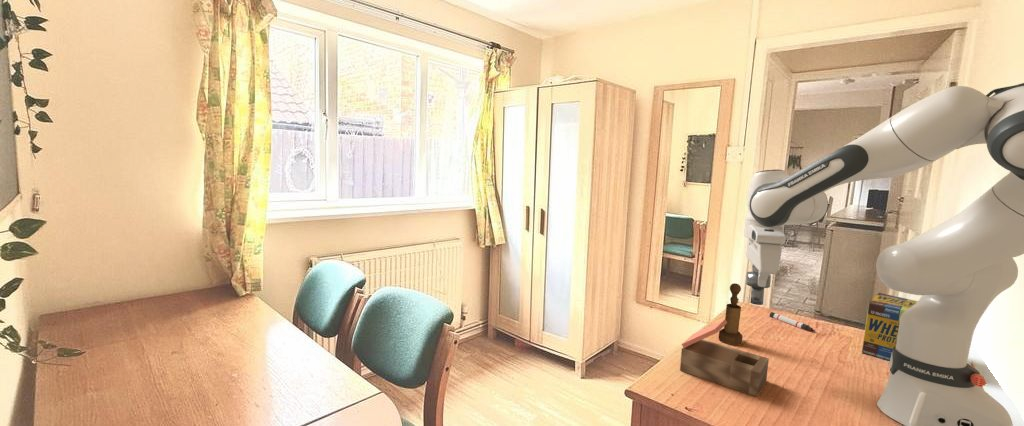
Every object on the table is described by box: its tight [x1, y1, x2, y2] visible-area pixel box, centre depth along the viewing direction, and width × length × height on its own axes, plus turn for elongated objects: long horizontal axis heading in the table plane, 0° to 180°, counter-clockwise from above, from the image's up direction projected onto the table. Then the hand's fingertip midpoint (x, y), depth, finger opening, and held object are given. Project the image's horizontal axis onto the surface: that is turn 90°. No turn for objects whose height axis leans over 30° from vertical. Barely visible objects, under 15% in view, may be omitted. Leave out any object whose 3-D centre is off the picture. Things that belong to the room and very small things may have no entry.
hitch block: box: [679, 339, 770, 397], centre depth 110 cm, size 18×10×6 cm, turn 49°
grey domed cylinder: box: [745, 271, 772, 306], centre depth 115 cm, size 6×6×8 cm
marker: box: [769, 311, 816, 332], centre depth 147 cm, size 15×2×2 cm, turn 22°
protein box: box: [861, 292, 918, 362], centre depth 126 cm, size 10×15×16 cm
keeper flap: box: [681, 319, 727, 348], centre depth 113 cm, size 10×9×1 cm
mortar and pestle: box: [718, 282, 743, 346], centre depth 131 cm, size 7×6×18 cm
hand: (758, 282), depth 115 cm, fingers closed on grey domed cylinder, 6 cm apart
